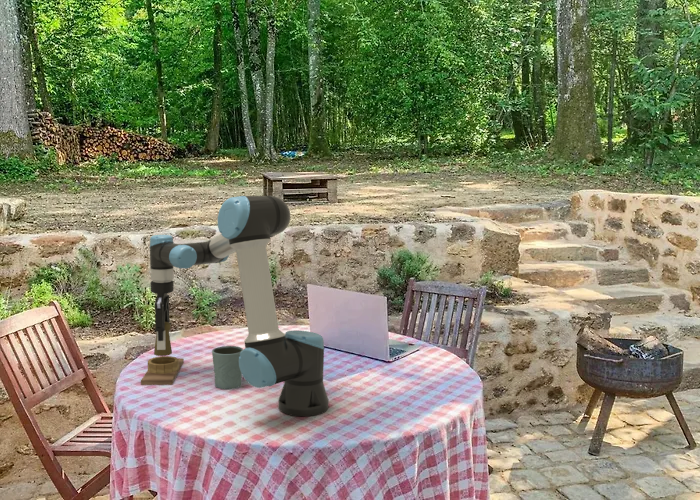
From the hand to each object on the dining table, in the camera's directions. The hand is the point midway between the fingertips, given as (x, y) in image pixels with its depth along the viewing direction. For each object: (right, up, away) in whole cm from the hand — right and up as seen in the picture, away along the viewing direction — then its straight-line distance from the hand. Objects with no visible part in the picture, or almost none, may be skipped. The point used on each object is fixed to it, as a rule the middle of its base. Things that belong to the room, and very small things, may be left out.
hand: (162, 346), depth 223 cm
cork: (0, -2, 0) cm, 2 cm away
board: (0, -9, +1) cm, 9 cm away
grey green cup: (+24, -11, -9) cm, 28 cm away
